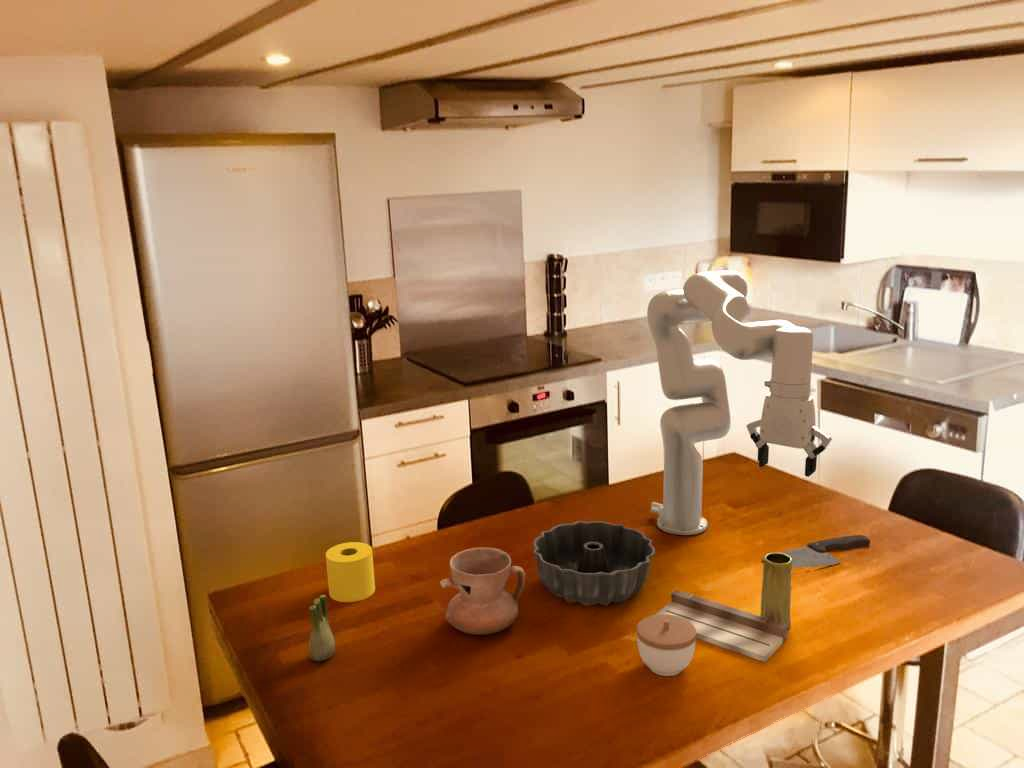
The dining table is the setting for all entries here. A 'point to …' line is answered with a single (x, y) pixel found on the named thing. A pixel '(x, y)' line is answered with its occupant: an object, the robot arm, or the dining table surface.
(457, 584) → the ceramic jug
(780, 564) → the vase
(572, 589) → the bundt pan
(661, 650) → the lidded jar
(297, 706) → the dining table surface
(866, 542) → the cleaver
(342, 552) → the toilet paper roll
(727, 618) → the fence board
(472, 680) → the dining table surface
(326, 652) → the fennel bulb
